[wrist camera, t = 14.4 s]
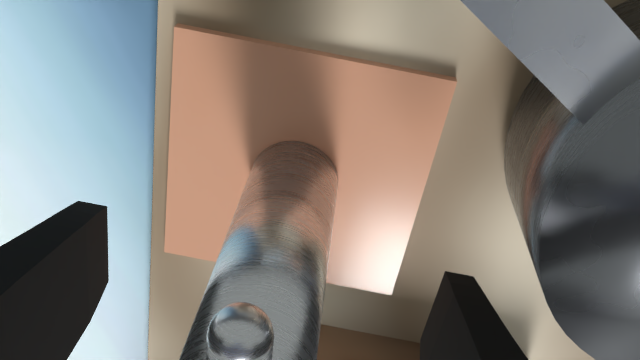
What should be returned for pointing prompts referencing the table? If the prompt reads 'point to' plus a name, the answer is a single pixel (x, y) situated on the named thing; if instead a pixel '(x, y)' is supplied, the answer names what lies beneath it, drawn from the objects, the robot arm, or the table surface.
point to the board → (441, 187)
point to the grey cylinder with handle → (578, 161)
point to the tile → (306, 126)
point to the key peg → (271, 262)
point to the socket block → (363, 346)
